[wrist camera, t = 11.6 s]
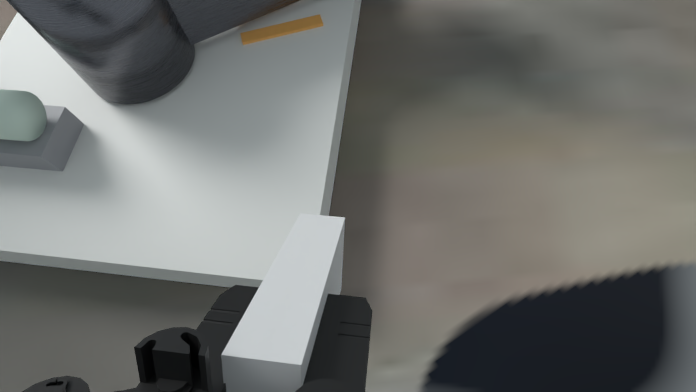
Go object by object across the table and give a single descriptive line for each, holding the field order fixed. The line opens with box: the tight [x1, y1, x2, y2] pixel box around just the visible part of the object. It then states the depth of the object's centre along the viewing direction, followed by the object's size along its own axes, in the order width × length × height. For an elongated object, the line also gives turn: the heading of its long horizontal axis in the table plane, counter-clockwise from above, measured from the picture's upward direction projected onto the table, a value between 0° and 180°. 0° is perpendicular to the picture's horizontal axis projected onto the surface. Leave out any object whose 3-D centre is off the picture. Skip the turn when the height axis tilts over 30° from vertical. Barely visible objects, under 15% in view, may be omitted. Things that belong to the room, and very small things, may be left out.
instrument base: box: [0, 0, 362, 288], centre depth 24 cm, size 22×24×7 cm
